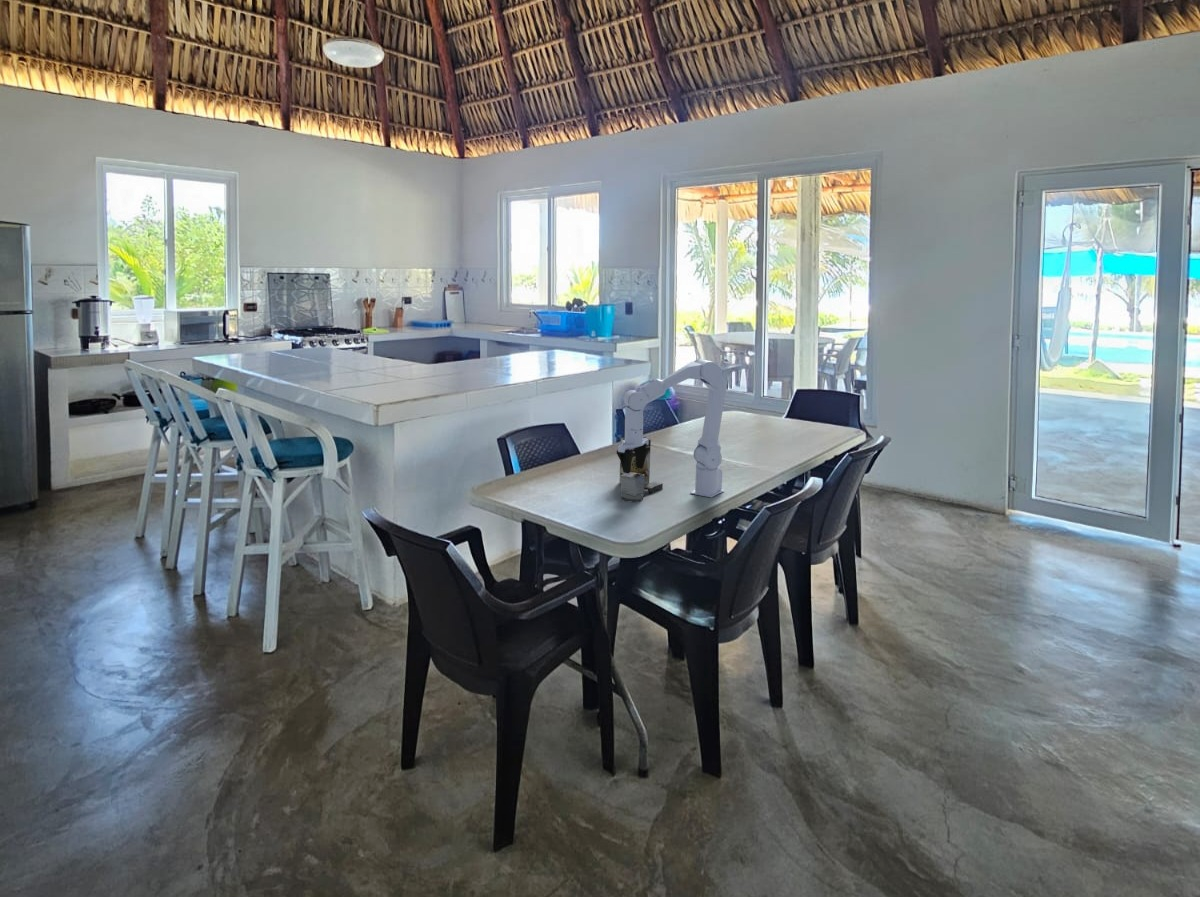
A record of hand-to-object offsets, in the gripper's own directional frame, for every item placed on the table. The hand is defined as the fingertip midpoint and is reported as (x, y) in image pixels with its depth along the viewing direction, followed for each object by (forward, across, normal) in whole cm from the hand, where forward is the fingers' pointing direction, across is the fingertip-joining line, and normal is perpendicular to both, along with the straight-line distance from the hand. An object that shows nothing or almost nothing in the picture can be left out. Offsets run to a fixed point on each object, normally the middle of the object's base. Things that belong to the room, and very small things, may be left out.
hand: (633, 470), depth 249 cm
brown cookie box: (+10, -15, -9) cm, 20 cm away
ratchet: (+10, -6, 0) cm, 11 cm away
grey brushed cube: (+8, 0, 0) cm, 8 cm away
